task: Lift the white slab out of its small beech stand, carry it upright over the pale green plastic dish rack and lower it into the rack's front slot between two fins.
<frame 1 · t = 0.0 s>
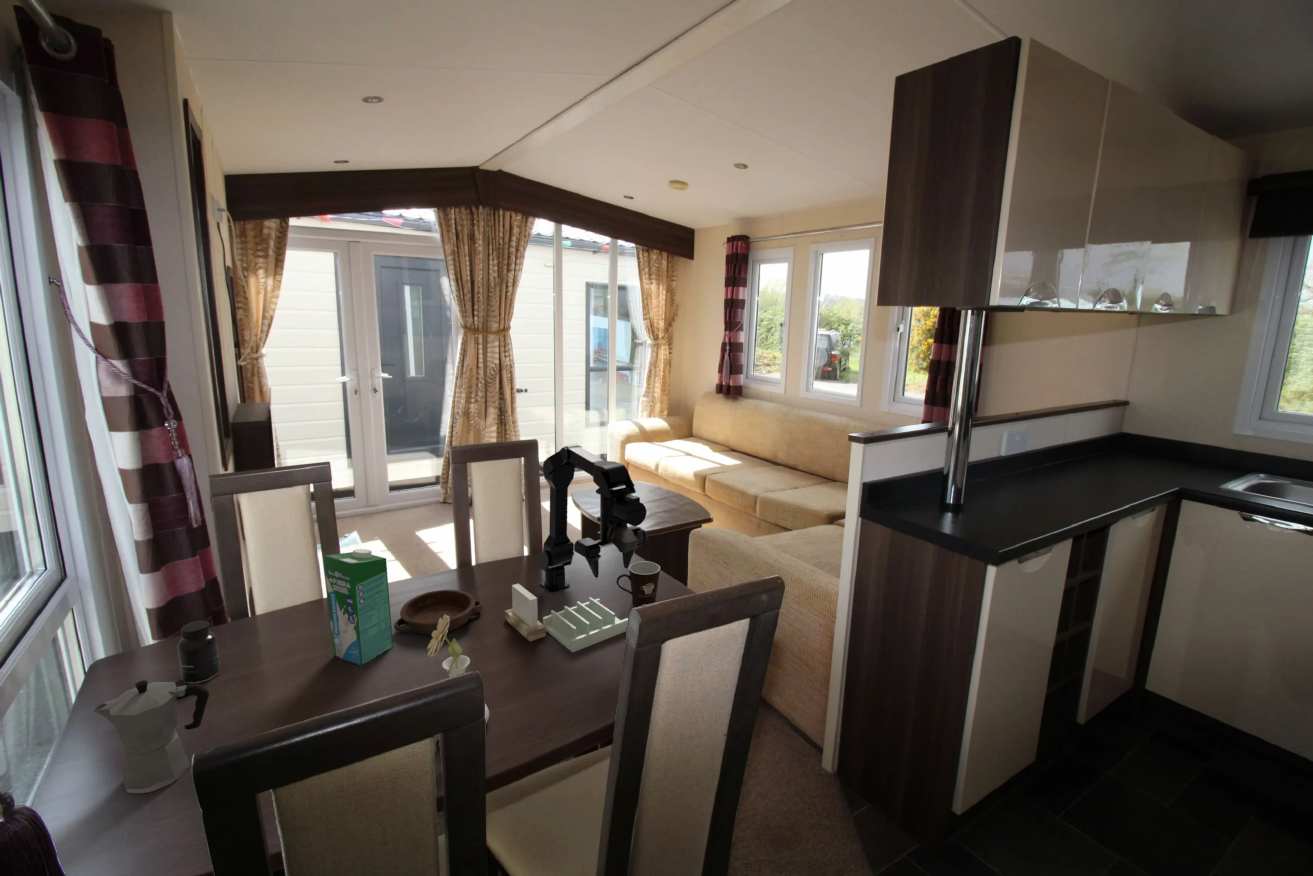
hand: (611, 572, 154), 15 cm above the table, fingers open, 9 cm apart
white slab: (524, 609, 154), in the stand
rack: (586, 629, 155), on the table
supplement bottle: (202, 676, 132), on the table
coffeepot: (165, 773, 105), on the table
dish: (439, 623, 157), on the table
stand: (525, 627, 155), on the table
flower in vase: (458, 729, 118), on the table
coffee mug: (638, 601, 171), on the table
milk carton: (363, 652, 143), on the table
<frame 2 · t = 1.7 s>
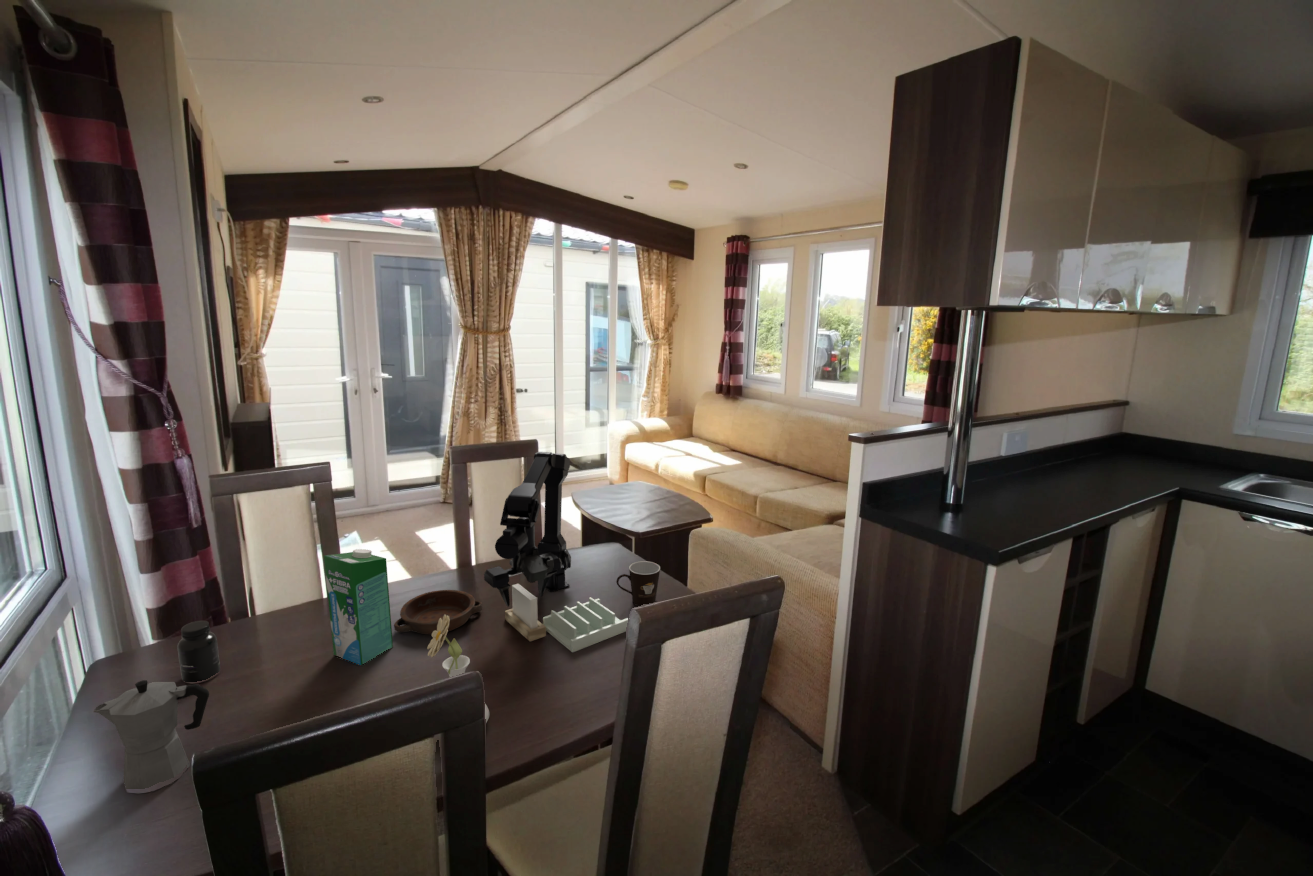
hand: (524, 600, 154), 7 cm above the table, fingers open, 9 cm apart
nothing on the table moved.
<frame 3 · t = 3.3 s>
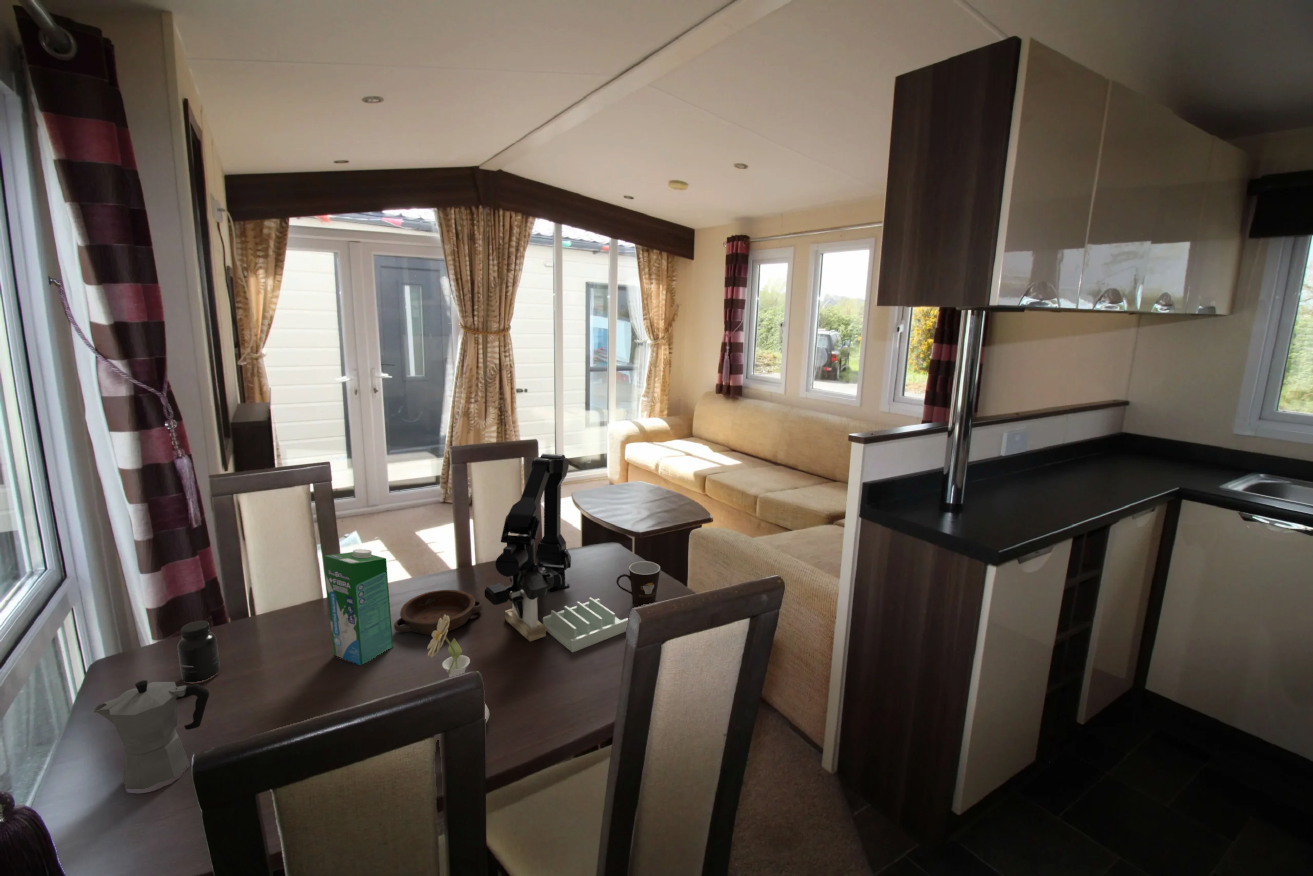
hand: (524, 616, 154), 3 cm above the table, fingers closed on white slab, 2 cm apart
white slab: (524, 609, 154), in the stand, touching gripper
everything else where it was.
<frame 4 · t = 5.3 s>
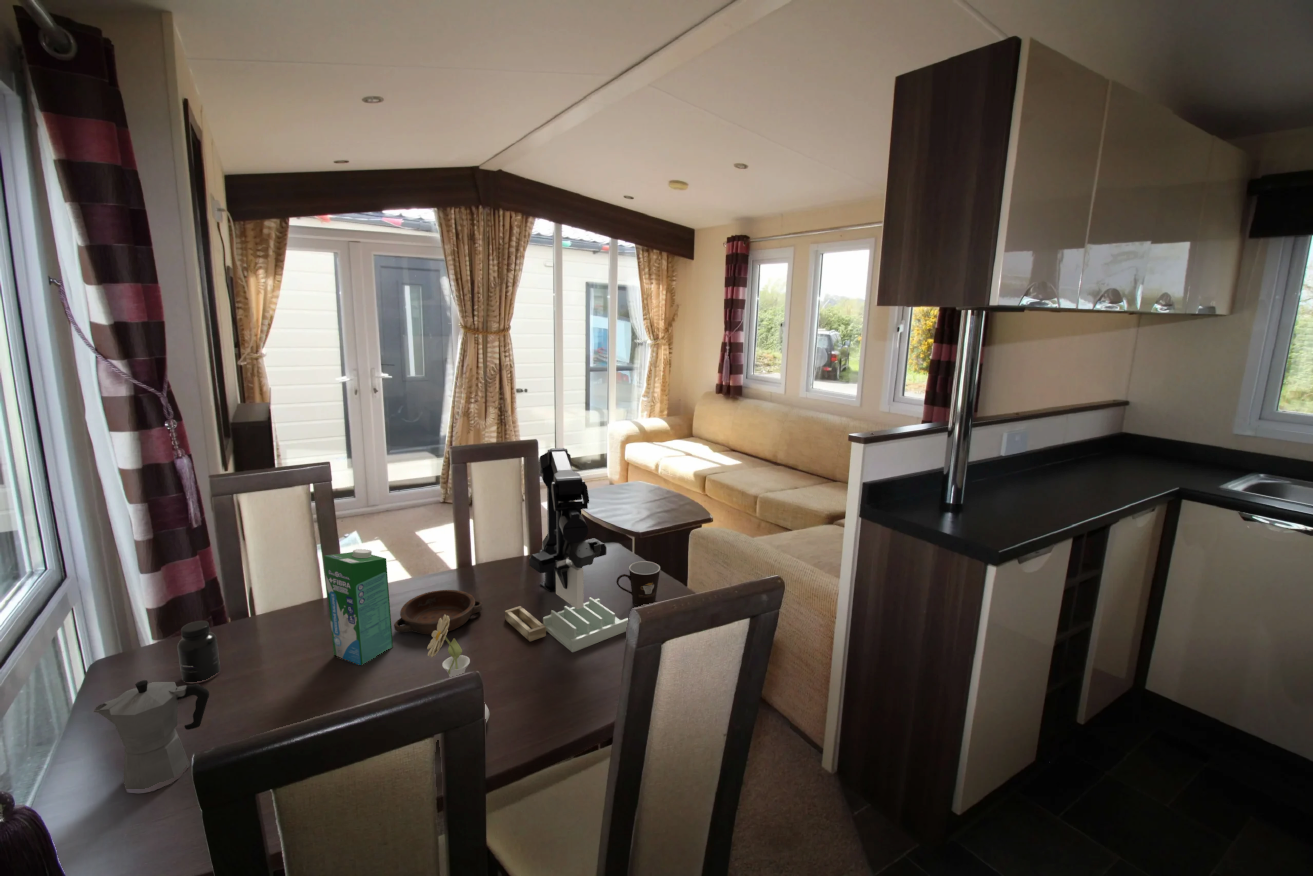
hand: (569, 587, 149), 13 cm above the table, fingers closed on white slab
white slab: (569, 581, 149), point 14 cm above the table, touching gripper
everything else where it was.
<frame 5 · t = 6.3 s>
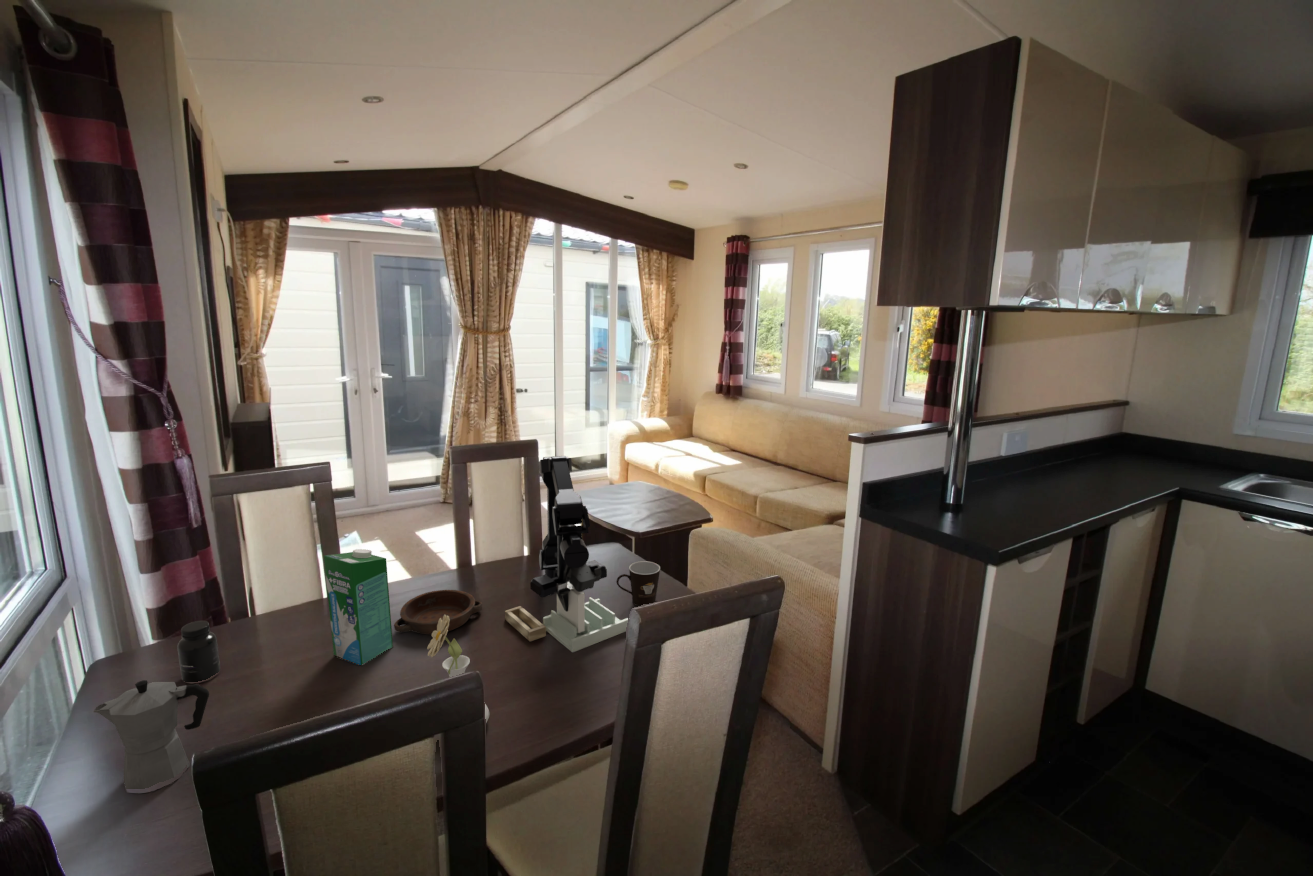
hand: (569, 609, 151), 7 cm above the table, fingers closed on white slab, 2 cm apart
white slab: (570, 605, 150), point 8 cm above the table, touching gripper
everything else where it was.
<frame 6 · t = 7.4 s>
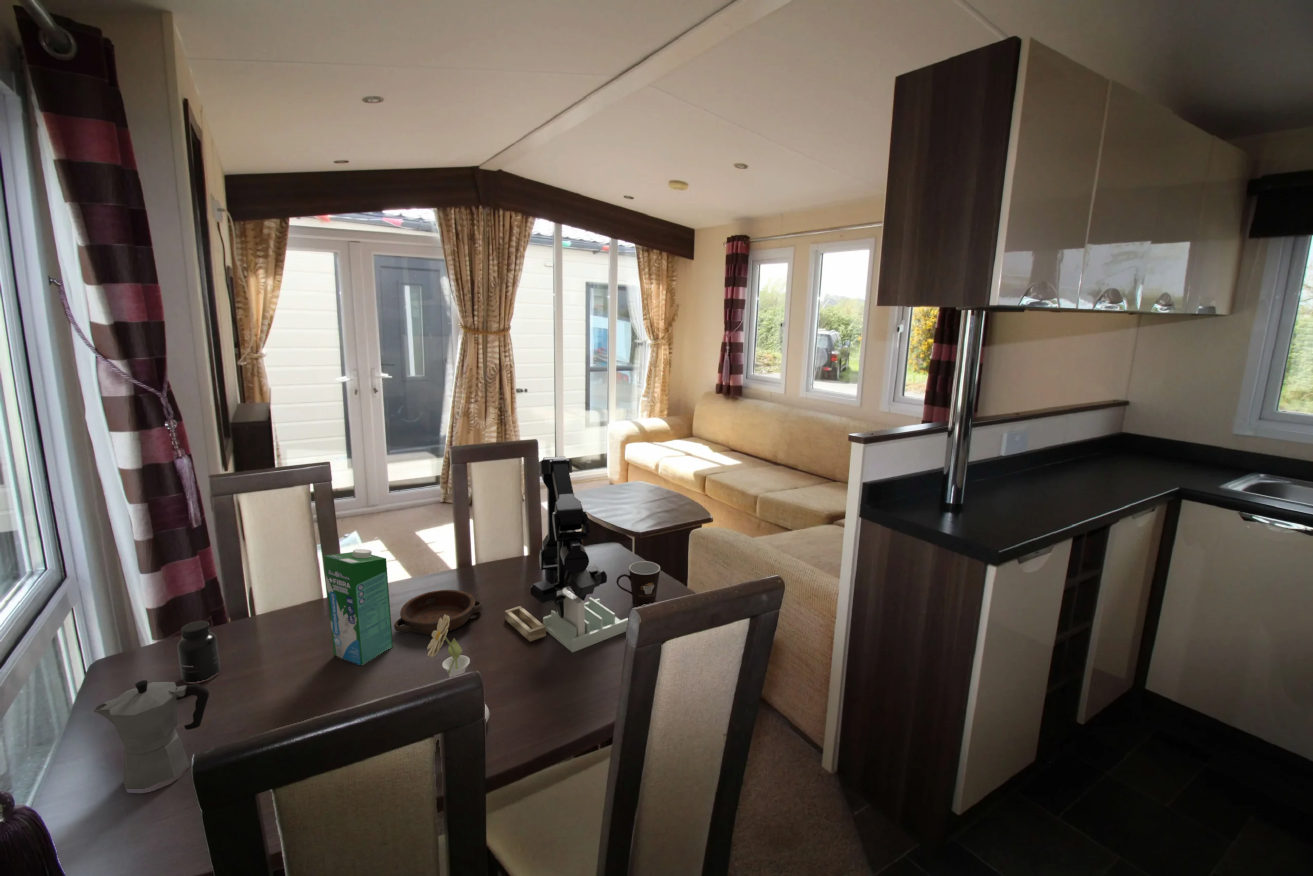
hand: (570, 615, 151), 5 cm above the table, fingers open, 4 cm apart
white slab: (570, 613, 151), point 6 cm above the table, touching rack
everything else where it was.
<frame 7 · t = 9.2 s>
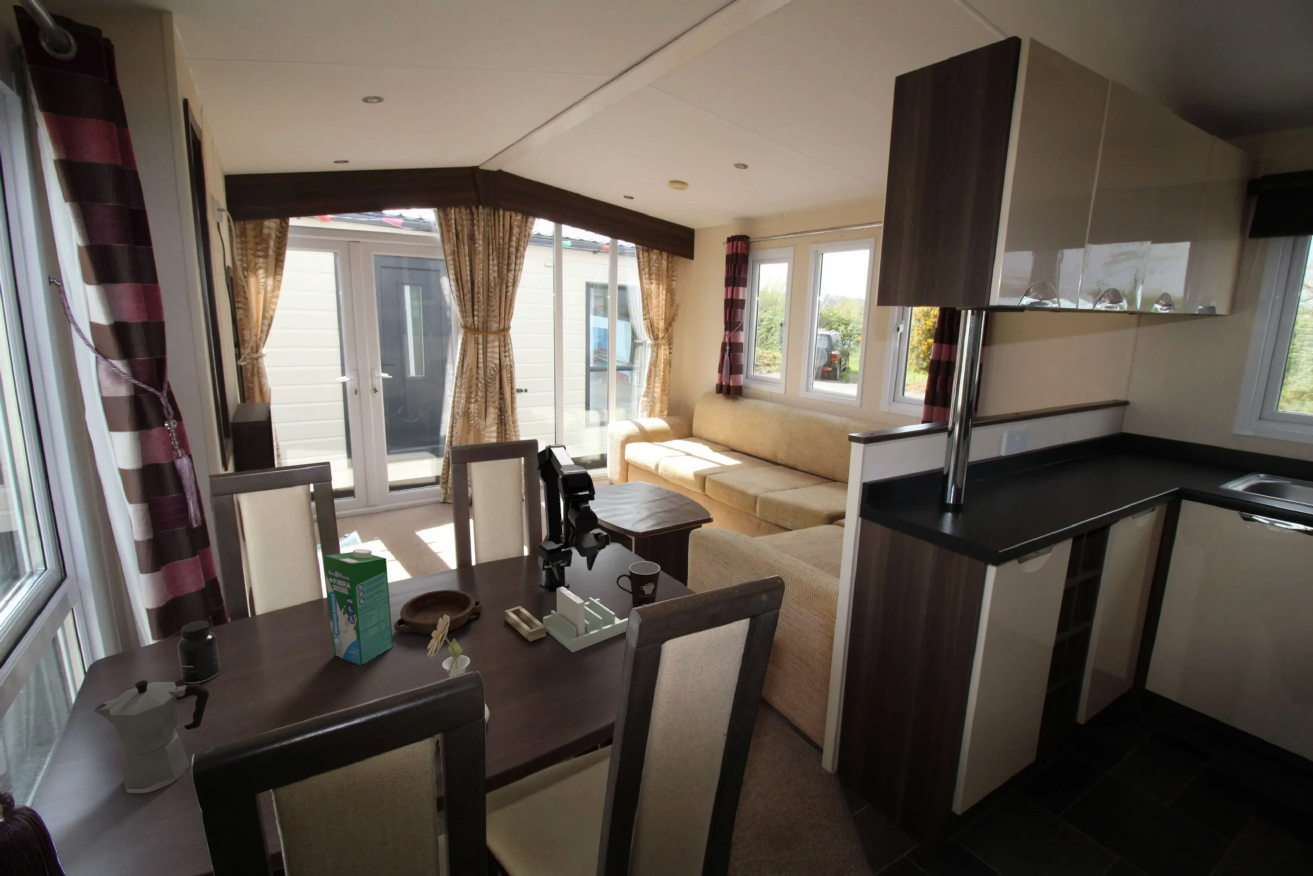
hand: (574, 575, 157), 12 cm above the table, fingers open, 9 cm apart
nothing on the table moved.
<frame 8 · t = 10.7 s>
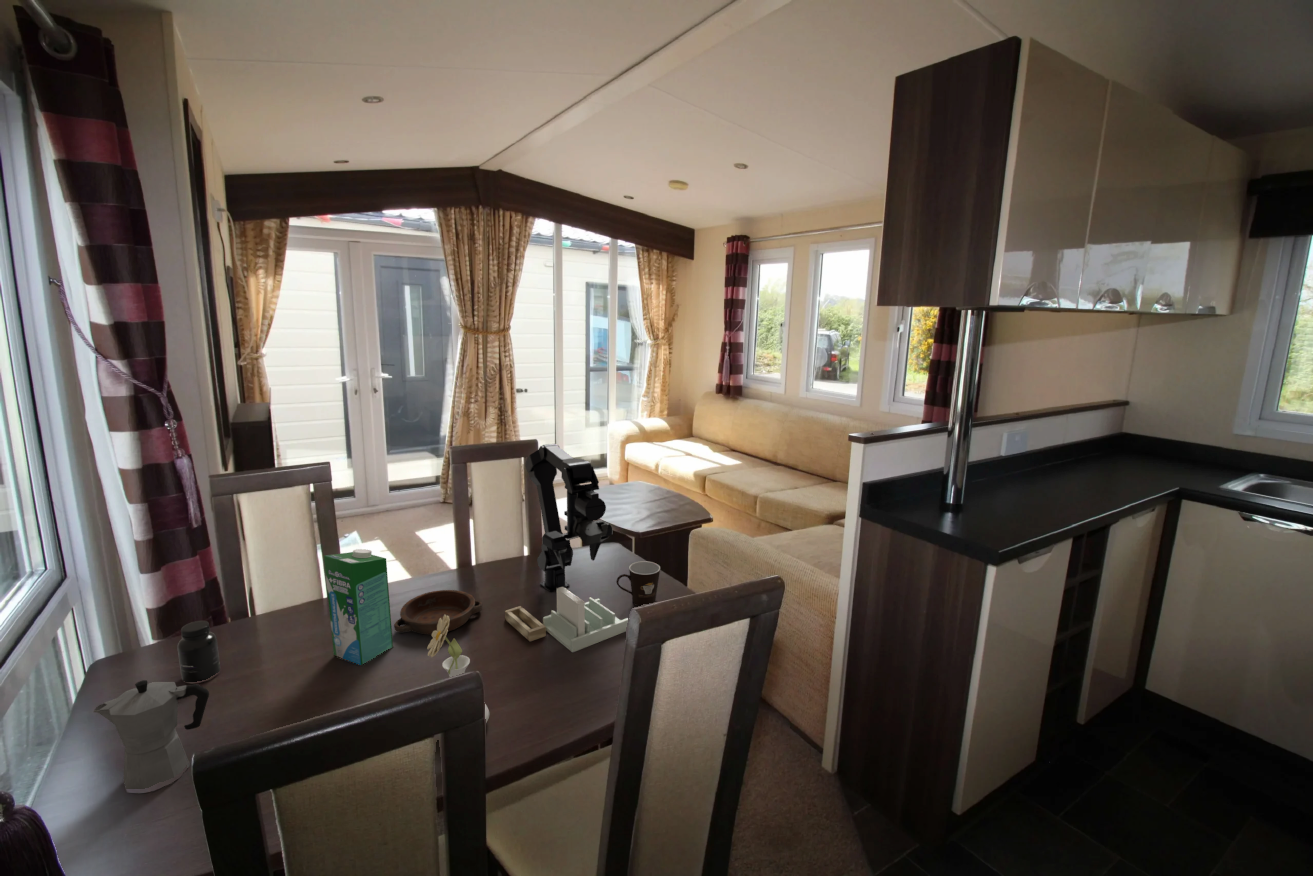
hand: (578, 564, 162), 13 cm above the table, fingers open, 9 cm apart
nothing on the table moved.
at the end: white slab 0.2 cm from the target spot on the rack, point 6.0 cm above the rack's base; white slab tilted 0°; the gripper is holding nothing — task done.
